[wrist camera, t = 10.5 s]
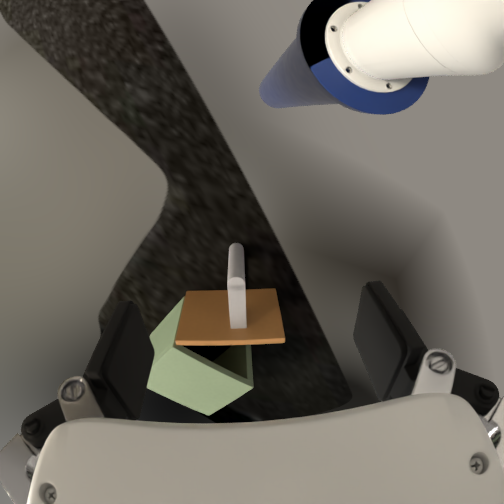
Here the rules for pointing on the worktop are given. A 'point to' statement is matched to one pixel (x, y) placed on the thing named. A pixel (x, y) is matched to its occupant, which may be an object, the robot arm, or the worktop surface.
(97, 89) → the worktop surface
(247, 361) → the cupboard
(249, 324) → the door
